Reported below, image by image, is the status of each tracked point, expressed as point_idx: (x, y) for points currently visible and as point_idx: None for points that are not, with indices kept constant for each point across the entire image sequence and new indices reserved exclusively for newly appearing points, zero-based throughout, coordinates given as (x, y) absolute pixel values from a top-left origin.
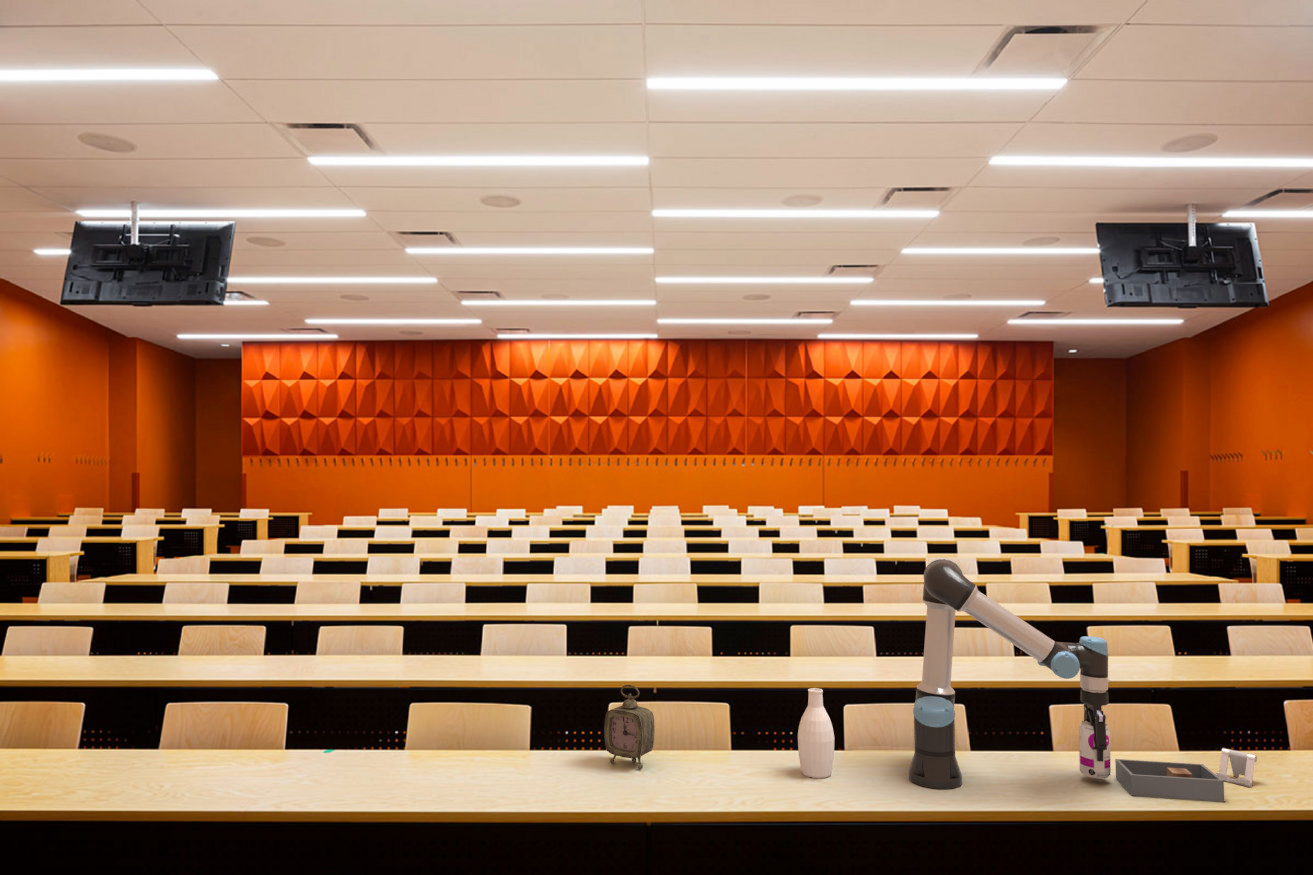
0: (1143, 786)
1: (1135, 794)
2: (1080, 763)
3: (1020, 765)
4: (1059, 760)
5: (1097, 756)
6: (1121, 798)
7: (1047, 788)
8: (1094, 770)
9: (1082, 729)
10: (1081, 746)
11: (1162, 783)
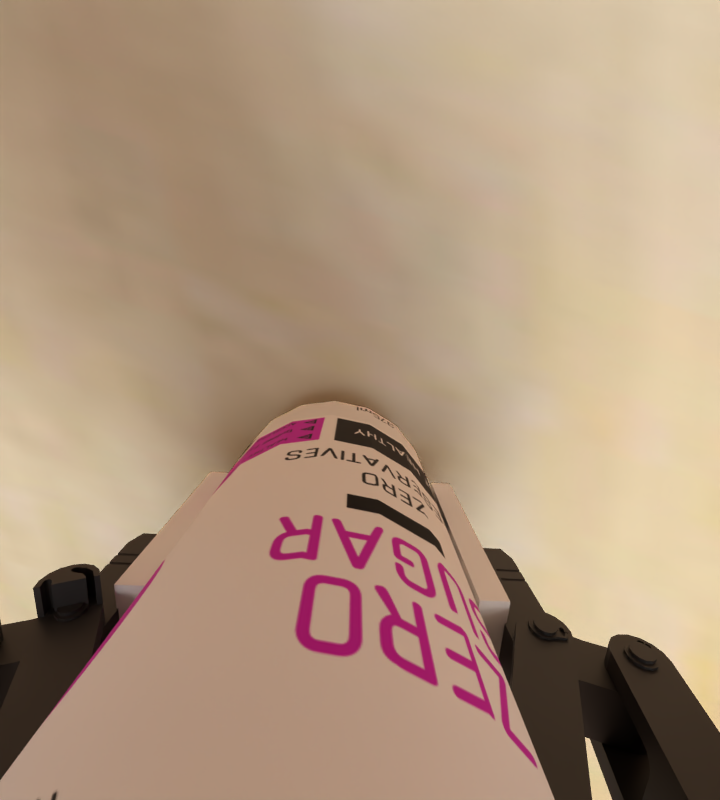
0: None
1: None
2: (323, 417)
3: (614, 54)
4: (714, 377)
5: (132, 557)
6: (69, 511)
7: (128, 117)
8: (208, 474)
9: (129, 695)
10: (275, 482)
11: None
